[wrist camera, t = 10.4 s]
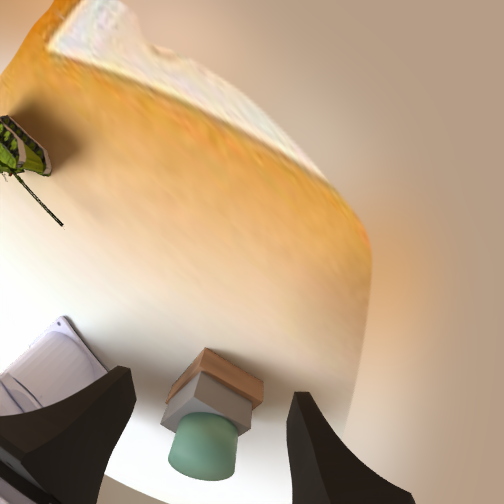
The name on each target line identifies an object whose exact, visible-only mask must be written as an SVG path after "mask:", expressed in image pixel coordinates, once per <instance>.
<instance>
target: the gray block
mask: <svg viewBox="0 0 504 504" xmlns="http://www.w3.org/2000/svg"><path fill="white" fill-rule="evenodd" d="M193 412H208V413H213V414H217V415H220V416H222V417H224V418H226V419H228V420H229V421H231V422H232V423H233V424H234V425H235V426H236V428H237V430H238V437H239V436H240V435H242V434H243V433H245V432H246V431H248V430H249V429H251V414H252V402H251V401H249V400H248V399H246V398H244V397H243V396H241V395H239V394H237V393H236V392H234V391H233V390H231V389H229V388H228V387H226V386H224V385H223V384H221V383H220V382H218V381H216V380H215V379H213V378H212V377H210V376H209V375H207V374H206V373H204V372H203V371H200V372H199V373H198V374H197V375H196V376H195V377H194V378H193V379H192V380H191V381H190V382H189V383H188V384H187V385H186V386H185V387H183V388H182V389H181V390H180V391H179V392H178V393H177V394H176V395H175V396H174V397H173V398H171V399H170V401H169V403H168V406H167V408H166V411H165V413H164V416H163V418H162V421H161V423H160V424H161V425H162V426H164V427H166V428H167V429H169V430H171V431H172V432H174V433H176V431H177V428H178V425H179V422H180V420H181V418H182V417H183V416H185V415H187V414H189V413H193Z"/></svg>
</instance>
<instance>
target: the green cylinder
mask: <svg viewBox="0 0 504 504" xmlns="http://www.w3.org/2000/svg"><path fill="white" fill-rule="evenodd" d="M237 441H238V430H237V428H236V426H235V425H234V424H233V423H232V422H231V421H229V420H228V419H226V418H224V417H222V416H220V415H217V414H213V413H208V412H193V413H189V414H187V415H185V416H183V417H182V418H181V420H180V422H179V425H178V428H177V431H176V434H175V437H174V441H173V444H172V447H171V450H170V453H169V456H168V461H169V463H170V465H171V466H172V467H173V468H174V469H175V470H177V471H178V472H180V473H182V474H184V475H186V476H188V477H191V478H195V479H199V480H205V481H219V480H224V479H227V478H229V477H231V476H232V475H233V474H234V470H235V461H236V451H237Z"/></svg>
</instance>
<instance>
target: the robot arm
mask: <svg viewBox="0 0 504 504" xmlns="http://www.w3.org/2000/svg"><path fill="white" fill-rule="evenodd" d="M29 347H30V348H29V349H28V350H27V351H25V352H24V353H23V354H22V355H21V356H20V357H19V358H17V359H16V360H15V361H14V362H13V363H12V364H11V365H10V366H9V367H7V368H6V369H5V370H4V371H3V372H2V373H0V504H96V503H97V498H98V494H99V490H100V486H101V482H102V479H103V476H104V472H105V469H106V467H107V464H108V461H109V458H110V456H111V454H112V451H113V449H114V448H115V446H116V444H117V442H118V440H119V438H120V436H121V434H122V432H123V431H124V429H125V427H126V425H127V423H128V421H129V419H130V417H131V414H132V412H133V409H134V406H135V403H136V400H137V399H136V395H135V390H134V385H133V381H132V376H131V370H130V368H126V367H122V366H117V367H115V368H114V369H112V370H111V371H109V372H107V371H106V370H105V368H104V367H103V366H102V365H101V364H100V363H99V361H98V360H97V359H96V358H95V357H94V355H93V354H92V353H91V352H90V351H89V349H88V348H87V347H86V346H85V344H84V343H83V342H82V340H81V339H80V338H79V337H78V335H77V334H76V333H75V331H74V330H73V328H72V327H71V326H70V324H69V323H68V322H67V320H66V319H65V318H64V317H63V316H60V317H59V318H58V319H57V320H55V321H54V322H53V323H52V324H51V325H50V326H49V327H48V328H47V329H45V330H44V331H43V332H42V333H41V334H40V335H39V336H38V337H37V338H36V339H35V340H34V341H33V342H31V343H30V344H29ZM287 448H288V456H289V463H290V471H291V478H292V504H415V501H414V499H413V497H412V495H411V493H409V492H407V491H405V490H403V489H401V488H399V487H397V486H395V485H393V484H392V483H390V482H388V481H387V480H385V479H383V478H382V477H380V476H379V475H378V474H376V473H375V472H374V471H373V470H371V469H370V468H369V467H367V466H366V465H365V464H364V463H363V462H361V461H360V460H359V459H358V458H357V457H356V456H355V455H354V454H353V453H352V452H351V451H350V450H349V449H348V448H347V447H346V446H345V444H344V443H343V442H342V441H341V440H340V438H339V437H338V436H337V435H336V433H335V432H334V431H333V429H332V428H331V426H330V425H329V424H328V422H327V421H326V419H325V418H324V416H323V415H322V413H321V411H320V410H319V408H318V406H317V405H316V403H315V401H314V399H313V398H312V396H311V394H310V393H309V392H294V396H293V400H292V403H291V407H290V411H289V414H288V418H287Z"/></svg>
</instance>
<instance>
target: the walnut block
mask: <svg viewBox="0 0 504 504" xmlns="http://www.w3.org/2000/svg"><path fill="white" fill-rule="evenodd" d="M200 371H203V372H204V373H206V374H207V375H209V376H210V377H212V378H213V379H215V380H216V381H218V382H220V383H221V384H223V385H224V386H226V387H228V388H229V389H231V390H233V391H234V392H236V393H237V394H239V395H241V396H243V397H244V398H246V399H248V400H249V401H251V402H252V410H253V409H255V408H256V407H257V406H258V405H260V404H261V403H262V402H263V382H262V381H261V380H259V379H257V378H255V377H253V376H252V375H250V374H248V373H247V372H245V371H243V370H241V369H240V368H238V367H236V366H235V365H233V364H231V363H230V362H228V361H226V360H225V359H223V358H221V357H220V356H218V355H217V354H215V353H213V352H212V351H210V350H209V349H207V348H206V347H205V349H204V350H203V351H202V352H201V353H200V354H199V356H198V357H197V358H196V359H195V360H194V361H193V363H192V364H191V365H190V366H189V367H188V368H187V370H186V371H185V372H184V373H183V374H182V375H181V376H180V378H179V379H178V380H177V381H176V382H175V383H174V384H173V386H172V388H171V391H170V393H169V395H168V398H167V400H166V404H168V403H169V401H170V399H171V398H173V397H174V396H175V395H176V394H177V393H178V392H179V391H180V390H181V389H182V388H183V387H185V386H186V385H187V384H188V383H189V382H190V381H191V380H192V379H193V378H194V377H195V376H196V375H197V374H198V373H199V372H200Z"/></svg>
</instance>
